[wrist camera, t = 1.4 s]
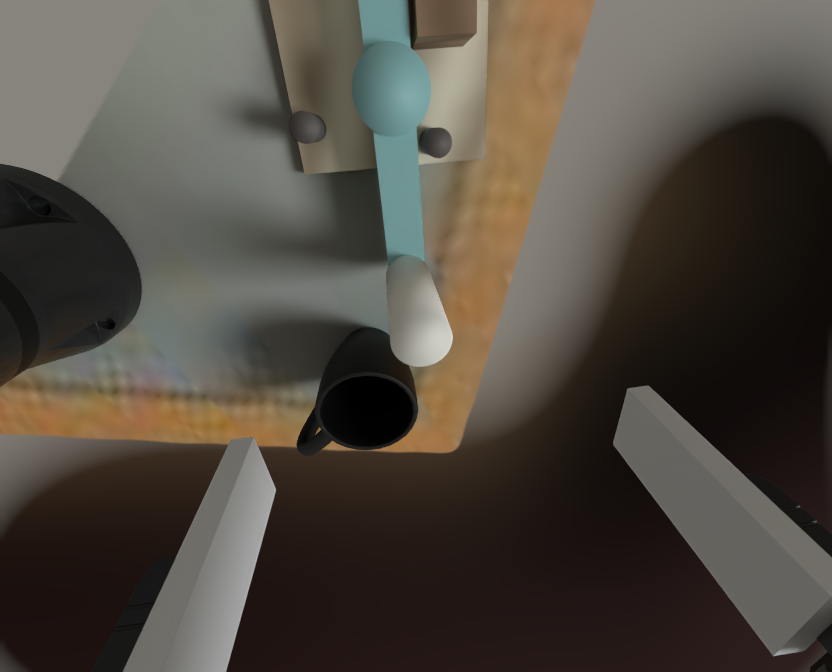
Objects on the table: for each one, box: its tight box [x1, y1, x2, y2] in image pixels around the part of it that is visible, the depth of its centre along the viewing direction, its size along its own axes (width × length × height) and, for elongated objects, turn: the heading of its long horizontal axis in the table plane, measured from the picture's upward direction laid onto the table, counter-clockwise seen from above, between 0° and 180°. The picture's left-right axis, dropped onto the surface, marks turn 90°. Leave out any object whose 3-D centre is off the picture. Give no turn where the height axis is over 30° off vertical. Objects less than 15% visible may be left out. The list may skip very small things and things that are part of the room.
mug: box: [297, 328, 418, 456], centre depth 33 cm, size 8×12×10 cm
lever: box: [352, 0, 453, 367], centre depth 21 cm, size 5×21×13 cm, turn 4°
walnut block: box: [409, 0, 477, 50], centre depth 22 cm, size 4×4×4 cm
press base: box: [269, 0, 488, 175], centre depth 24 cm, size 14×11×5 cm
